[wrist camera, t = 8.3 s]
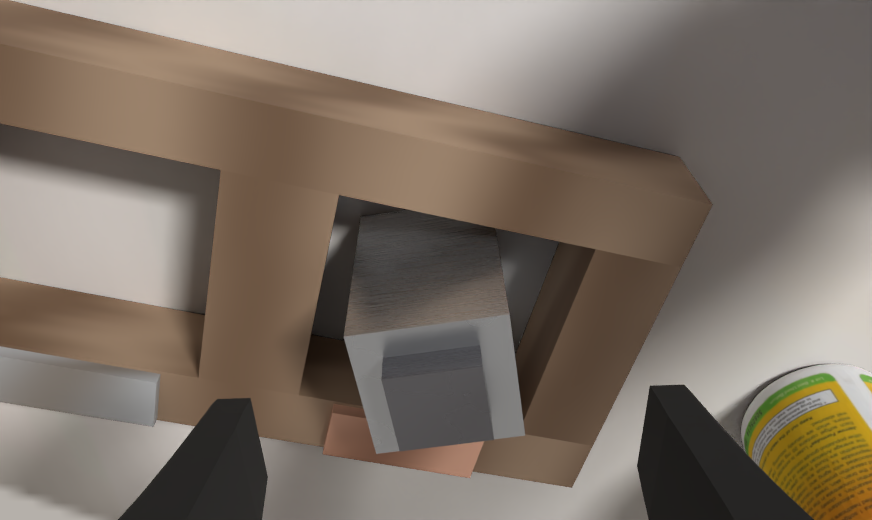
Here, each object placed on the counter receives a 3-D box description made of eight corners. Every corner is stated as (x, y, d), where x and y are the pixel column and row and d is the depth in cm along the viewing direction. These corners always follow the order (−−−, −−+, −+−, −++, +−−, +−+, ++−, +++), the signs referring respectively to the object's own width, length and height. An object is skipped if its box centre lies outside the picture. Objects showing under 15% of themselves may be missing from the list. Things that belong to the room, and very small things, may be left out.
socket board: (679, 156, 22) (717, 211, 19) (558, 423, 28) (573, 497, 25) (-124, -31, 19) (-222, 1, 16) (-78, 312, 25) (-144, 381, 22)
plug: (490, 197, 23) (513, 335, 17) (504, 304, 25) (528, 458, 19) (360, 216, 23) (340, 358, 17) (385, 319, 25) (374, 477, 19)
